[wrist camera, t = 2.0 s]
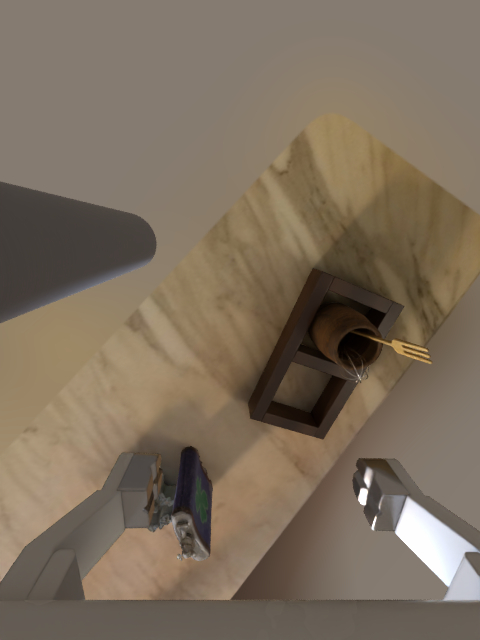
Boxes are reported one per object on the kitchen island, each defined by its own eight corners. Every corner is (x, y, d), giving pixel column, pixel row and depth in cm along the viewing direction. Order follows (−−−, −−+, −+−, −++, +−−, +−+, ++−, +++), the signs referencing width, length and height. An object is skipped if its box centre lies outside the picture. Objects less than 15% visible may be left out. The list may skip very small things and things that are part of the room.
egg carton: (101, 477, 36) (87, 506, 33) (140, 451, 35) (130, 477, 32) (153, 515, 40) (145, 546, 36) (190, 492, 39) (186, 521, 35)
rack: (247, 403, 34) (250, 418, 31) (312, 267, 29) (322, 271, 26) (315, 423, 36) (323, 439, 33) (387, 299, 31) (404, 306, 28)
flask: (215, 488, 39) (212, 578, 28) (196, 493, 39) (187, 585, 29) (195, 443, 36) (185, 526, 26) (176, 449, 36) (157, 533, 26)
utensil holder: (298, 315, 30) (343, 363, 19) (345, 290, 30) (421, 325, 19) (316, 353, 32) (367, 417, 21) (361, 331, 32) (439, 384, 20)
